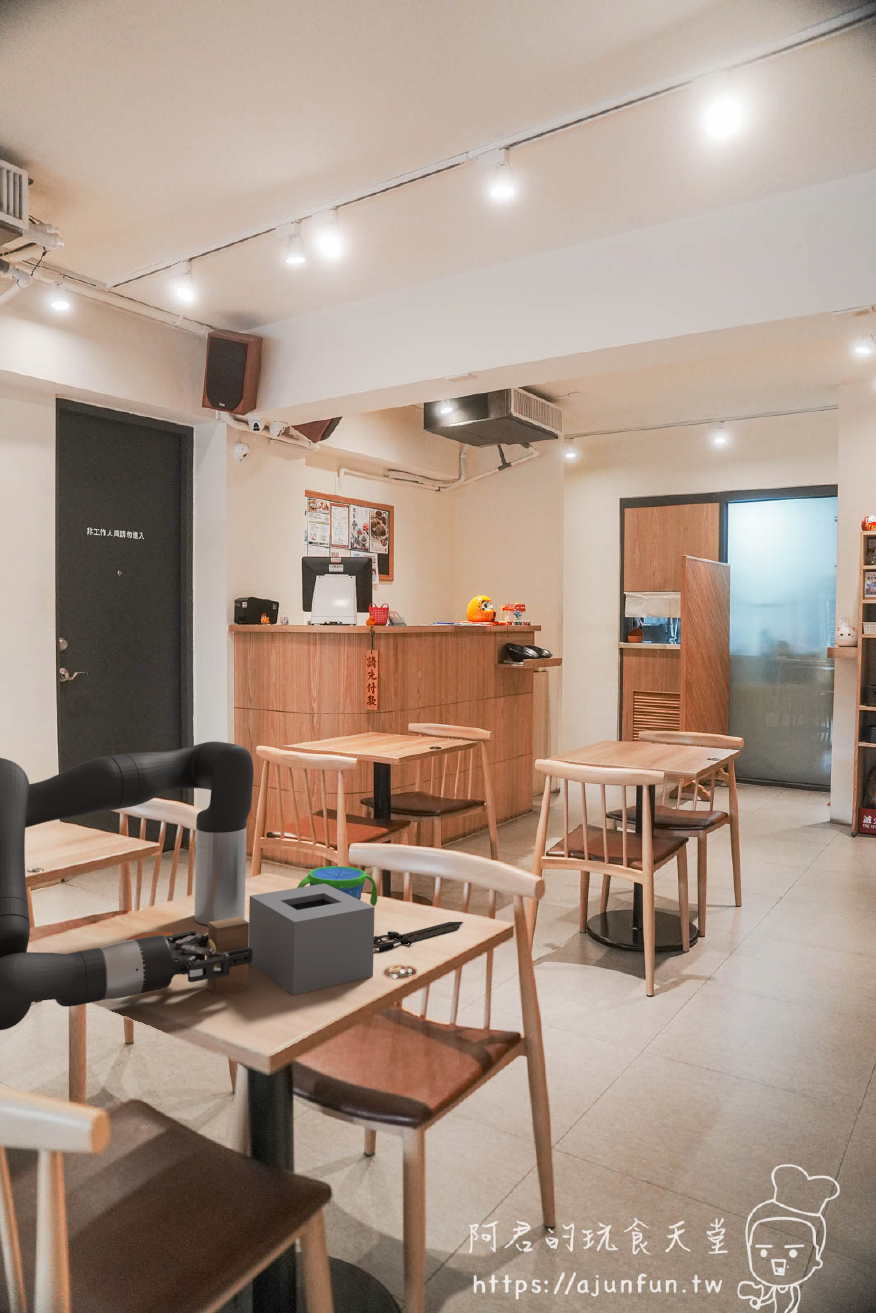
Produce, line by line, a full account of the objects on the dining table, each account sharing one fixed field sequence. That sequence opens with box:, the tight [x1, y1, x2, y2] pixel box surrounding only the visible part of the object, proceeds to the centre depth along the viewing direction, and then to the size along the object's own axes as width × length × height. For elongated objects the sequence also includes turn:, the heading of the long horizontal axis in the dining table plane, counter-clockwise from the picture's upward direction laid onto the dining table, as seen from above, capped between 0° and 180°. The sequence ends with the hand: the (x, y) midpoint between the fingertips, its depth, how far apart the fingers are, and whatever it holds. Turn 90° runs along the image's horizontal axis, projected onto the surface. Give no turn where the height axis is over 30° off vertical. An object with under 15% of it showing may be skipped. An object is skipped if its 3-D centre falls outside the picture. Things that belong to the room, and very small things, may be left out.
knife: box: [374, 921, 465, 953], centre depth 159 cm, size 25×6×1 cm, turn 126°
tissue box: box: [248, 884, 375, 996], centre depth 142 cm, size 16×14×11 cm
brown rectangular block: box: [206, 917, 249, 996], centre depth 134 cm, size 4×5×10 cm
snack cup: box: [296, 865, 379, 907], centre depth 163 cm, size 16×10×10 cm
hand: (239, 946), depth 135 cm, fingers open, 8 cm apart
